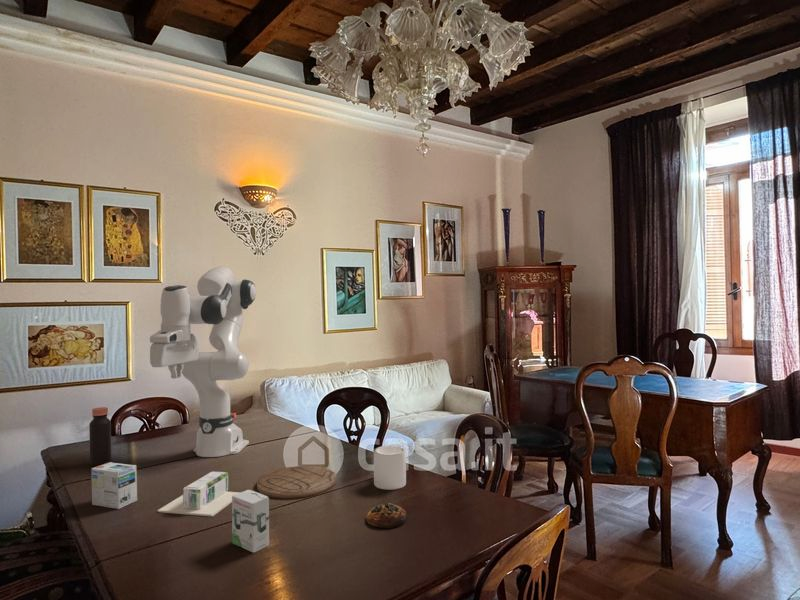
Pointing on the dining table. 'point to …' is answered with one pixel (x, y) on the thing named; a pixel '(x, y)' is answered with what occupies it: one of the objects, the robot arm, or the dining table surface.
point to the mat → (207, 510)
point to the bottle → (100, 437)
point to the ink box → (250, 520)
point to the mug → (389, 467)
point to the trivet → (296, 482)
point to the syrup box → (205, 490)
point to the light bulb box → (114, 485)
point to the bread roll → (386, 516)
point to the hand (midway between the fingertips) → (176, 377)
